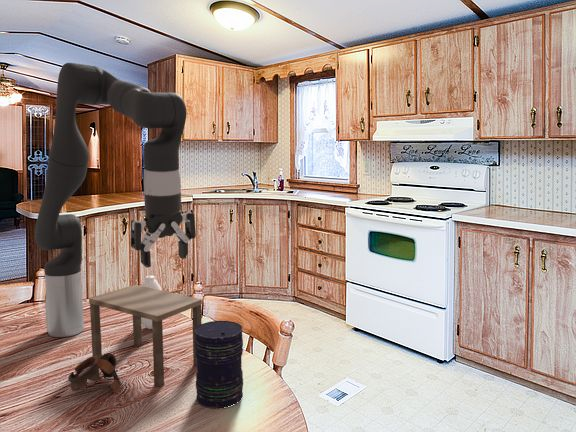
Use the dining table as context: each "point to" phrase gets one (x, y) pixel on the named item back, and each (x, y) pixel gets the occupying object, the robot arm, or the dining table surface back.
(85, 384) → the pottery mug
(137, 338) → the wooden side table
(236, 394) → the dark blue cylinder
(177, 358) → the dining table surface
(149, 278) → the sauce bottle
